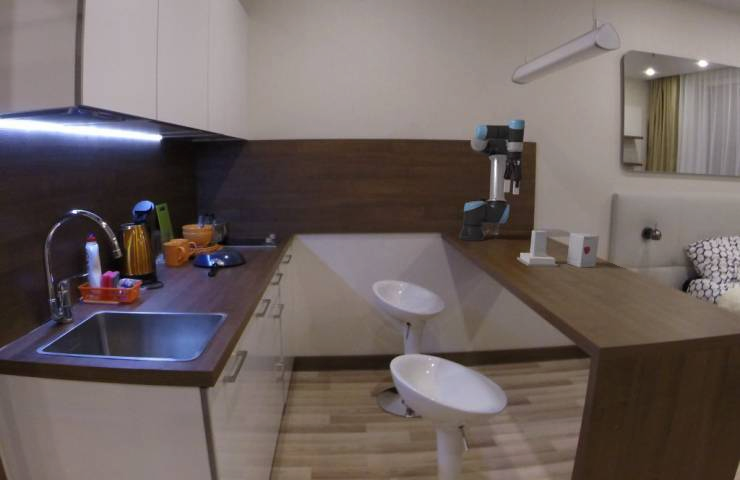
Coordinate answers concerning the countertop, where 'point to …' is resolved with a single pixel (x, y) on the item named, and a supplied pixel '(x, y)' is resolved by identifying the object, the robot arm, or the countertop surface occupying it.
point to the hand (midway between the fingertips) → (510, 193)
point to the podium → (537, 260)
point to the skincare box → (538, 243)
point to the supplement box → (582, 249)
